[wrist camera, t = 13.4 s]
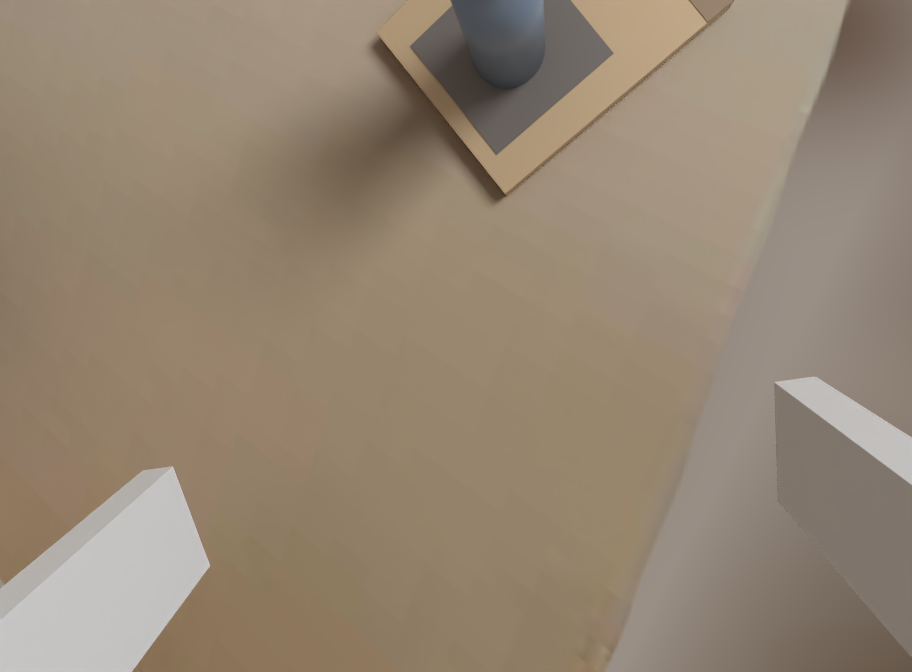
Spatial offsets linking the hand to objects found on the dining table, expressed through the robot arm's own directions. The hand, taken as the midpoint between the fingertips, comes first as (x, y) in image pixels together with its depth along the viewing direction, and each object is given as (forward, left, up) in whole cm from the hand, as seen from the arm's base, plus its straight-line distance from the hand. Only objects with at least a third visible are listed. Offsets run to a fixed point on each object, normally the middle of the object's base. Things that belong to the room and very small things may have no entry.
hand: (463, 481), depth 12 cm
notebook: (-14, +13, -21) cm, 28 cm away
